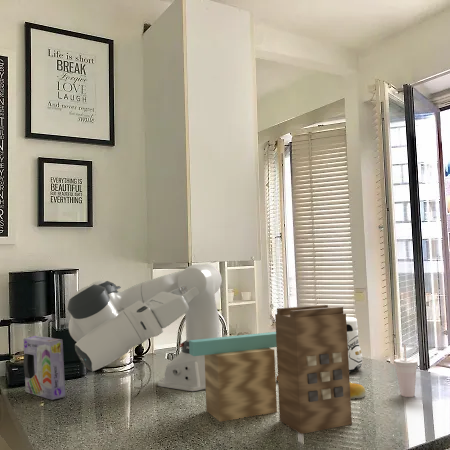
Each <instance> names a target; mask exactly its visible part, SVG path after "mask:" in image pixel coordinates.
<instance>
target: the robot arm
mask: <svg viewBox="0 0 450 450" xmlns="http://www.w3.org/2000/svg"><path fill="white" fill-rule="evenodd" d="M222 280H223V278H222V274H221V272H220V271H219V270H218V269H217V267H216V266H214V265H212V264H206V263H205V264H201V263H200V264H191V265H189V266H187V267H185V268H184V269H182V270H179V271H176V272H173V273H168V274H165V275H162V276H159V277H155V278H152V279H149V280H146V281H142V282H140V283H138V284H135V285H133V286H130V287H128V288H126V289H124V290H122V291H118V290H119V289H121V288H122V286H120V285H116V284H115V283H114V282H111V281H109V280H98V281H94V282H92V283H91V284H89V285H87V286H84V287H81V289H78V290H77V291H76V292H75V293H73V294H72V296H71V297H70V299H69V300H68V304H67V308H66V309H67V311H68V312H69V314H70V318H69V321H68V333H69V335H70V337H71V338H72V339H73V340H74V342H76V343H75V344H74V350H75V353H76V355H77V357H78V359H79V360H80V362H81V363H82V364H83V365H84V367H85V368H86V369H87V370H89V371H91V372H95V371H97V370H100V369H101V368H104V367H105V366H107V365H110V364H112V363H113V362H115V361H117V360H119V359H120V358H121V357H123V356H125V355H126V354H127V353H128V352H129V351H130V349H132V348H133V347H134V348H135V346H139V345H141V344H143V343H144V342H146V341H147V340H149V339H151V338H155V337H158V336H160V335H161V334H163V333H164V330H163V329H165V328H167V327H169V326H170V325H172V324H173V323H174V322H176V321H177V320H178V319H180V318H181V317H182V316H183V315H184V316H185V334H186V335H185V336H186V339H185V340H184V341H183V342H181V343H179V348H181V352H180V353H179V354H178V355H176V356H175V357H174V358H173V359H172V360H170V362H168V363H167V365H166V367H165V370H164V376H163V377H162V378H161V379H159V380H158V382H157V387H161V388H162V387H163V388H170V389H176V390H181V391H187V392H188V391H189V392H197V391H201V390H206V384H205V355H201V356H192V355H190V354H189V340H198V339H208V338H218V337H221V333H220V331H221V330H220V314H219V312H218V307H217V302H216V296H215V294H216V293H218V291H219V289H221V286H222V283H223V281H222Z"/></svg>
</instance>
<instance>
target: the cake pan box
mask: <svg viewBox="0 0 450 450" xmlns="http://www.w3.org/2000/svg"><path fill="white" fill-rule="evenodd" d="M63 341H64V340H63V339H62V338H61V339H60V338H54V337H50V336H49V337H48V336H40V335H32V336H29V337H25V338H23V370H24V376H25V377H24V382H25V384H24V385H25V386H24V387H25V390H24V391H25V392H26V393H28V394H32V395H34V396H38V397H40V398H45V399H48V400H53V401H55V400H59V399H63V398H66V383H65V380H66V379H65V365H64V364H65V363H64V362H65V360H64V345H63V344H64V343H63Z"/></svg>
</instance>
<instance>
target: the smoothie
mask: <svg viewBox="0 0 450 450" xmlns="http://www.w3.org/2000/svg"><path fill="white" fill-rule="evenodd" d="M406 346H407V345H406V344H403V356H404V357H403V358H395V359H393V364H394V365H395V372H396V377H397V381H398V385H399V386H398V387H399V393H400V396H401V397H404V398H405V397H406V398H413V397H415V396H416V380H417V379H416V378H417V366H418V360H417V359H414V358H407V347H406Z"/></svg>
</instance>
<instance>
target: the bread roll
mask: <svg viewBox="0 0 450 450" xmlns="http://www.w3.org/2000/svg"><path fill="white" fill-rule="evenodd" d="M365 396H366V389H365V387H364V385H361V384H358V383H355V382H354V383H353V382H350V398H351V400H356V399H355V398H358V399H362V398H363V399H364V397H365Z"/></svg>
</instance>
